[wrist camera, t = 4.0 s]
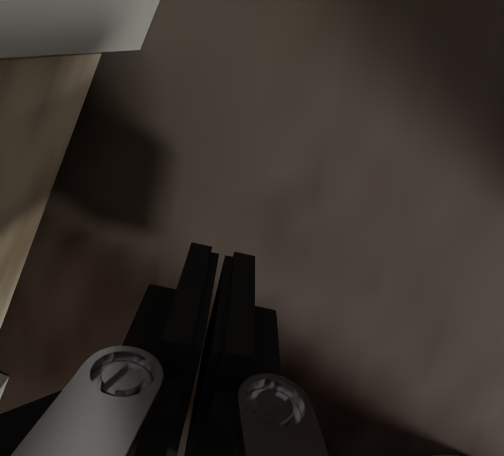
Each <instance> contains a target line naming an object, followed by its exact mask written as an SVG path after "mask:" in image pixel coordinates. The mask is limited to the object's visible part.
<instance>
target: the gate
mask: <svg viewBox="0 0 504 456" xmlns="http://www.w3.org/2000/svg"><path fill="white" fill-rule="evenodd" d="M100 57H101V53H99V52H96V53H79V54H61V55H44V56H27V57H10V58H0V328H1V325H2V323H3V320H4V317H5V315H6V312H7V309H8V306H9V304H10V301H11V298H12V296H13V293H14V290H15V287H16V285H17V282H18V279H19V277H20V274H21V271H22V268H23V266H24V263H25V260H26V258H27V255H28V252H29V250H30V247H31V244H32V241H33V239H34V236H35V233H36V231H37V228H38V225H39V222H40V220H41V217H42V214H43V212H44V209H45V206H46V203H47V201H48V198H49V195H50V193H51V190H52V187H53V184H54V182H55V179H56V176H57V174H58V171H59V168H60V165H61V163H62V160H63V157H64V155H65V152H66V149H67V146H68V144H69V141H70V138H71V136H72V133H73V130H74V127H75V125H76V122H77V119H78V117H79V114H80V111H81V108H82V106H83V103H84V100H85V98H86V95H87V92H88V89H89V87H90V84H91V81H92V79H93V76H94V73H95V70H96V68H97V65H98V62H99V60H100Z"/></svg>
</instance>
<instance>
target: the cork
mask: <svg viewBox="0 0 504 456" xmlns="http://www.w3.org/2000/svg"><path fill="white" fill-rule="evenodd" d="M430 456H460V455H430Z"/></svg>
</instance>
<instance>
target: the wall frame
mask: <svg viewBox="0 0 504 456" xmlns="http://www.w3.org/2000/svg"><path fill="white" fill-rule="evenodd" d="M159 1H160V0H0V58H10V57H27V56H44V55H61V54H79V53H96V52H113V51H130V50H140V49H141V46H142V44H143V41H144V39H145V36H146V34H147V31H148V29H149V26H150V24H151V21H152V19H153V16H154V14H155V11H156V9H157V6H158V4H159ZM8 379H9V376H6V375H4V374H1V373H0V398H1V396H2V393H3V391H4V388H5V386H6V384H7V381H8Z"/></svg>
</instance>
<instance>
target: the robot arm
mask: <svg viewBox="0 0 504 456" xmlns="http://www.w3.org/2000/svg"><path fill="white" fill-rule="evenodd" d="M211 250H212V247H210V246H206V245H201V244H197V243H191V246H190V249H189V252H188V255H187V259H186V262H185V265H184V268H183V271H182V274H181V277H180V280H179V283H178V286H177V289H171V288H167V287H162V286H157V285H152V284H150V285H149V286H148V288H147V291H146V293H145V295H144V297H143V300H142V302H141V304H140V306H139V309H138V311H137V313H136V315H135V318H134V320H133V322H132V324H131V327H130V329H129V331H128V333H127V336H126V338H125V340H124V342H123V345H122V346H114V347H109V348H105V349H102V350H100V351H98V352H96V353H94V354H93V355H92V356H91V357H90V358H88V359H87V360H86V361H85V363H84V364H83V365H82V366H81V368H80V369H79V370H78V371H77V373H76V374H75V375H74V376H73V378H72V379H71V380H70V381H69V383H68V384H67V385H66V386H65V388H64V389H63V390H61V391H59V392H56V393H54V394H51V395H48V396H46V397H43V398H41V399H38V400H36V401H33V402H30V403H28V404H25V405H23V406H20V407H18V408H15V409H12V410H10V411H7V412H5V413H2V414H0V456H177V452H178V448H179V444H180V440H181V435H182V431H183V427H184V423H185V419H186V415H187V411H188V406H189V402H190V398H191V394H192V390H193V386H194V381H195V377H196V373H197V369H198V365H199V361H200V356H201V352H202V347H203V352H202V357H201V363H200V369H199V375H198V380H197V386H196V392H195V398H194V403H193V409H192V415H191V421H190V426H189V432H188V438H187V444H186V449H185V455H184V456H338V455H337V454H336V453H335V452H334V451H333V450H332V449H331V448H330V447H329V446H328V445H327V444H326V443H324V439H323V436H322V433H321V430H320V427H319V424H318V421H317V418H316V415H315V412H314V409H313V406H312V403H311V402H310V400H309V398H308V396H307V394H306V393H305V392H304V391H303V390H302V389H301V388H300V387H299V386H298V385H297V384H295V383H294V382H292V381H291V380H289V379H286V378H284V377H282V376H281V369H280V356H279V342H278V329H277V316H276V311H275V310H272V309H267V308H263V307H258V306H255V256H252V255H247V254H243V253H238V252H234V255H233V257H231V256H226V255H225V259H224V263H223V267H222V271H221V275H220V279H219V283H218V288H217V292H216V296H215V300H214V304H213V308H212V312H211V317H210V321H209V325H208V329H207V333H206V337H205V331H206V325H207V320H208V314H209V308H210V303H211V297H212V291H213V286H214V280H215V274H216V268H217V263H218V257H219V254H217V253H212V252H211ZM204 337H205V342H204ZM203 342H204V346H203Z"/></svg>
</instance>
